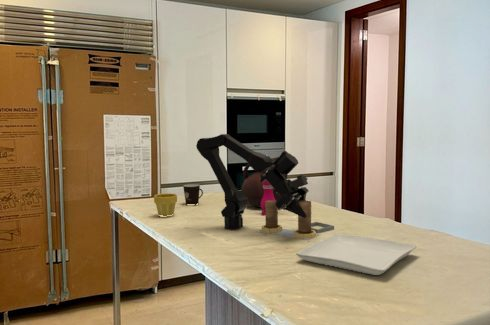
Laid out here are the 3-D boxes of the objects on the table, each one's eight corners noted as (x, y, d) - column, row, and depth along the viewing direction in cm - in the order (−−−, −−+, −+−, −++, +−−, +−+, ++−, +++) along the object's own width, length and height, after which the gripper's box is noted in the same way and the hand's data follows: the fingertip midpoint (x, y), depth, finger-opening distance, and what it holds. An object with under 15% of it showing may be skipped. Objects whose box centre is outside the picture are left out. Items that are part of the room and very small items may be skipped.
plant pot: (180, 216, 195) (179, 195, 194) (158, 219, 191) (157, 197, 190) (174, 212, 205) (173, 192, 204) (152, 215, 200) (151, 194, 199)
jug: (256, 199, 234) (255, 154, 232) (299, 203, 221) (298, 155, 219) (231, 208, 213) (230, 157, 211) (277, 212, 200) (276, 159, 198)
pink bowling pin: (258, 215, 196) (257, 171, 194) (264, 212, 202) (264, 169, 200) (272, 216, 192) (272, 171, 190) (279, 213, 199) (278, 170, 197)
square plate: (337, 242, 150) (337, 231, 150) (417, 256, 133) (417, 244, 132) (294, 263, 129) (294, 250, 129) (383, 283, 112) (383, 268, 111)
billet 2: (301, 234, 151) (301, 203, 150) (296, 231, 155) (295, 200, 154) (313, 233, 152) (313, 202, 151) (307, 230, 156) (307, 200, 155)
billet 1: (271, 232, 159) (270, 203, 158) (263, 230, 163) (262, 201, 162) (280, 230, 162) (280, 201, 161) (272, 228, 166) (271, 199, 165)
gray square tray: (317, 236, 157) (317, 229, 157) (300, 231, 164) (300, 225, 164) (334, 232, 162) (334, 225, 162) (316, 227, 170) (316, 221, 169)
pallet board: (256, 234, 162) (256, 227, 161) (270, 229, 169) (270, 222, 168) (307, 243, 148) (307, 236, 148) (320, 237, 155) (320, 230, 155)
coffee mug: (181, 203, 227) (181, 185, 226) (197, 202, 231) (196, 183, 230) (188, 207, 217) (187, 188, 216) (204, 205, 220) (204, 186, 219)
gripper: (283, 170, 145) (314, 205, 141) (303, 165, 161) (331, 196, 157) (262, 192, 150) (292, 226, 145) (284, 185, 166) (311, 215, 162)
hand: (308, 215), depth 152 cm, fingers closed on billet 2, 5 cm apart
